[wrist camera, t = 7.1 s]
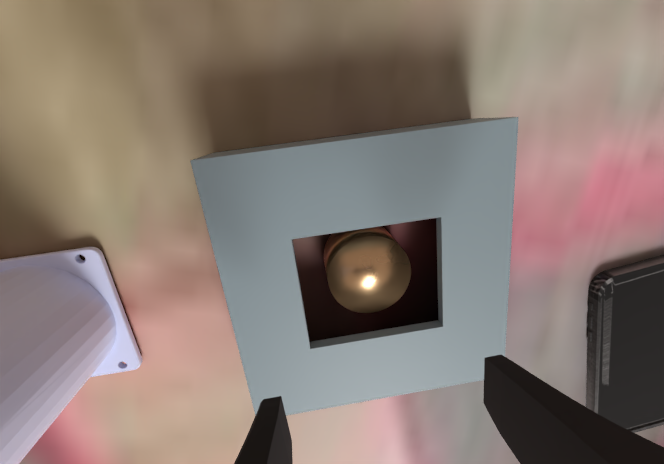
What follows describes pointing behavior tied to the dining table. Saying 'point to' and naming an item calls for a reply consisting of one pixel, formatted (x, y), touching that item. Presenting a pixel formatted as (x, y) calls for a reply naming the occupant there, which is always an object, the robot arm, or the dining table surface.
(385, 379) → the box
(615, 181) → the dining table surface
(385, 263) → the disc
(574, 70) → the dining table surface
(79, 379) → the robot arm
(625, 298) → the phone
